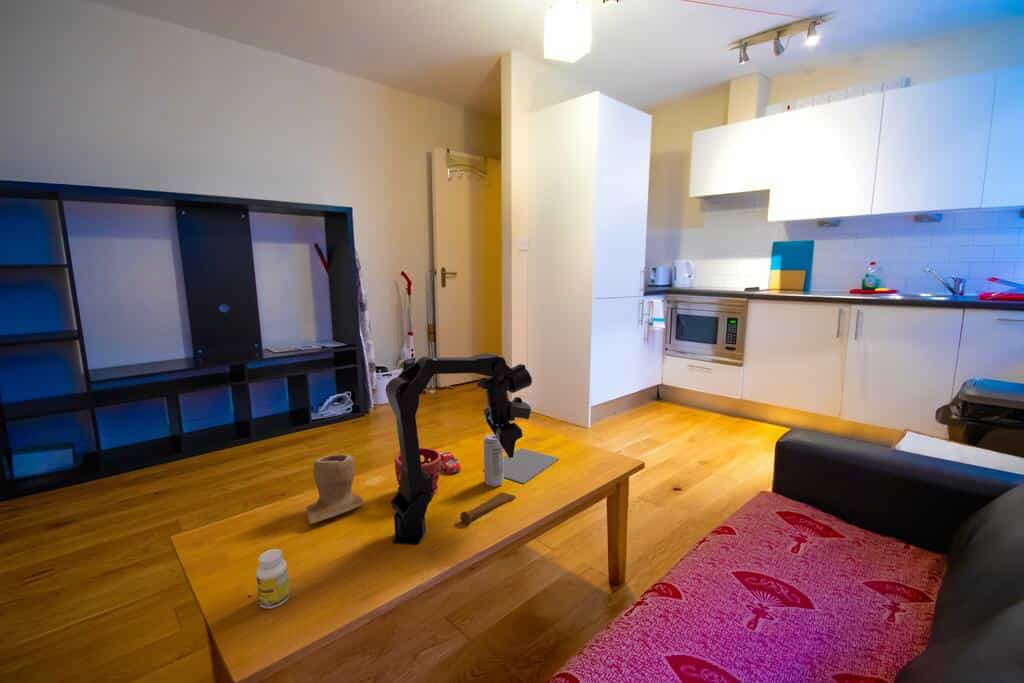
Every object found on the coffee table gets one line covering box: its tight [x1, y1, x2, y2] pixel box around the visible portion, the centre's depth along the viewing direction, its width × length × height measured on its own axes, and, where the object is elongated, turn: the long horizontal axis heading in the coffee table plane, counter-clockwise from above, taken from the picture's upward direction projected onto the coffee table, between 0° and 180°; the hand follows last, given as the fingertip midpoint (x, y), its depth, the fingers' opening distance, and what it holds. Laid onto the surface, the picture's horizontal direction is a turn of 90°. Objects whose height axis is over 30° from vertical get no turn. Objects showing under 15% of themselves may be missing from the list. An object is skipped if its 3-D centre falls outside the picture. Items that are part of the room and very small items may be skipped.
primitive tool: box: [459, 491, 517, 526], centre depth 121 cm, size 19×6×4 cm, turn 145°
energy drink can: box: [483, 433, 505, 488], centre depth 135 cm, size 6×6×15 cm
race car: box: [439, 451, 462, 475], centre depth 148 cm, size 13×5×4 cm, turn 25°
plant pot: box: [394, 447, 442, 497], centre depth 129 cm, size 13×13×12 cm
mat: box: [482, 447, 560, 485], centre depth 149 cm, size 22×16×1 cm
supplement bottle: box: [255, 548, 291, 609], centre depth 87 cm, size 5×5×10 cm
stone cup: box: [305, 453, 364, 525], centre depth 120 cm, size 15×12×15 cm
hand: (506, 450), depth 123 cm, fingers open, 9 cm apart
